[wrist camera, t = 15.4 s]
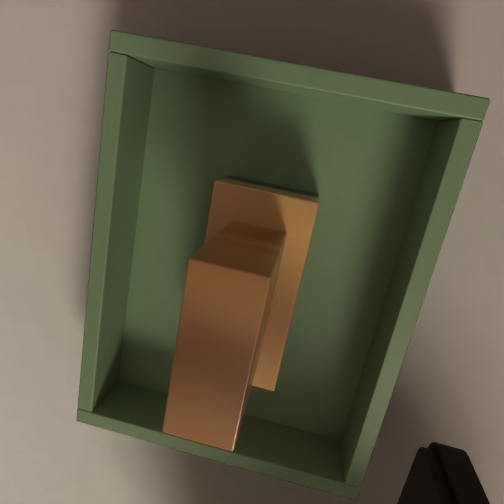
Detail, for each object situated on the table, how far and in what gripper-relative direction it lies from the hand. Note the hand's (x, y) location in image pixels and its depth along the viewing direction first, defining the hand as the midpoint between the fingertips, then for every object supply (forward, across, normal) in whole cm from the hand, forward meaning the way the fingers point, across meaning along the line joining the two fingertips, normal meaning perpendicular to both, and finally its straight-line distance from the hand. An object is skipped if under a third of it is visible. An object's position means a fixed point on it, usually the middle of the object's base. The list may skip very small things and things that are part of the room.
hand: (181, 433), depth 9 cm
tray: (+14, 0, +1) cm, 14 cm away
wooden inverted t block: (+13, 0, +1) cm, 13 cm away
